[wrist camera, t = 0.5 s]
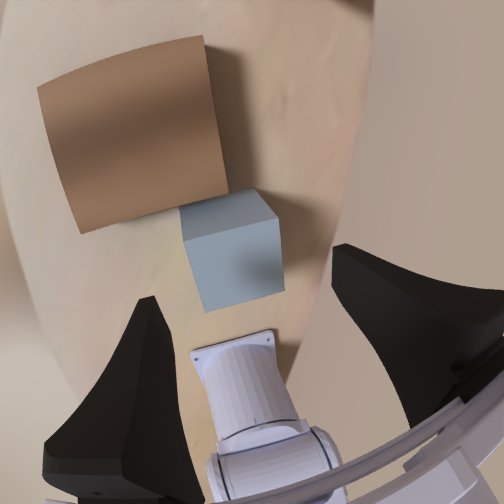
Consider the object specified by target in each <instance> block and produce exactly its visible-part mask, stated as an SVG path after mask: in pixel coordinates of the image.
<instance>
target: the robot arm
mask: <svg viewBox="0 0 504 504" xmlns="http://www.w3.org/2000/svg"><path fill="white" fill-rule="evenodd" d="M331 286H332V288H333V290H334V291H335V293H336V295H337V297H338V299H339V301H340V302H341V304H342V306H343V307H344V308H345V310H346V311H347V312H348V314H349V315H350V316H351V318H352V319H353V320H354V322H355V323H356V324H357V325H358V327H359V328H360V330H361V331H362V332H363V333H364V335H365V336H366V338H367V339H368V340H369V342H370V343H371V345H372V346H373V348H374V349H375V351H376V353H377V354H378V356H379V358H380V360H381V361H382V363H383V365H384V367H385V369H386V371H387V373H388V375H389V377H390V379H391V381H392V383H393V385H394V387H395V389H396V392H397V394H398V396H399V399H400V401H401V403H402V406H403V408H404V411H405V414H406V417H407V420H408V423H409V426H410V428H411V429H410V430H408V431H407V432H405V433H403V434H402V435H400V436H398V437H397V438H395V439H393V440H391V441H389V442H388V443H386V444H384V445H382V446H380V447H378V448H376V449H374V450H373V451H371V452H369V453H367V454H364V455H362V456H360V457H358V458H356V459H354V460H352V461H350V462H347V463H346V464H343V462H342V458H341V455H340V453H339V451H338V448H337V446H336V444H335V442H334V441H333V439H332V438H331V436H330V435H329V434H328V433H327V432H326V431H324V430H322V429H320V428H319V427H317V426H313V427H309V425H308V423H307V421H306V419H302V420H300V419H299V417H298V414H297V412H296V410H295V408H294V405H293V403H292V401H291V398H290V396H289V394H288V391H287V389H286V386H285V384H284V382H283V379H282V377H281V375H280V372H279V370H278V365H277V356H276V348H275V339H274V334H273V331H272V330H266V331H263V332H260V333H256V334H253V335H249V336H246V337H242V338H239V339H235V340H232V341H228V342H224V343H221V344H217V345H213V346H209V347H205V348H201V349H197V350H193V351H191V352H190V358H191V360H192V362H193V364H194V366H195V368H196V370H197V372H198V374H199V376H200V378H201V380H202V382H203V384H204V386H205V388H206V390H207V395H208V399H209V404H210V408H211V412H212V417H213V421H214V425H215V429H216V433H217V437H218V441H219V442H216V445H217V449H218V452H217V453H212V454H211V455H210V457H209V459H208V460H207V462H206V468H207V475H208V479H209V484H210V487H211V491H212V494H213V497H214V499H215V502H216V503H212V504H499V503H498V501H497V499H496V497H495V496H494V494H493V492H492V490H491V489H490V487H489V485H488V484H487V482H486V480H485V479H484V477H483V476H482V474H481V472H480V471H479V469H478V467H479V466H480V465H481V464H482V463H483V461H485V460H486V459H487V458H488V456H489V455H490V454H491V453H492V452H493V451H494V450H495V449H496V448H497V447H498V446H499V444H500V443H501V442H502V441H503V440H504V336H503V333H504V290H494V289H480V288H473V287H466V286H460V285H455V284H451V283H447V282H442V281H439V280H435V279H432V278H429V277H426V276H423V275H420V274H417V273H414V272H412V271H409V270H407V269H404V268H401V267H399V266H397V265H394V264H392V263H390V262H387V261H385V260H383V259H381V258H378V257H376V256H374V255H372V254H370V253H368V252H365V251H363V250H361V249H359V248H357V247H354V246H352V245H349V244H346V243H345V244H342V245H338V246H334V247H333V257H332V285H331ZM437 433H438V435H437V437H436V438H434V439H433V440H432V441H430V442H429V443H428V444H427V445H425V446H424V447H422V448H421V449H420V450H419V452H418V453H417V454H415V455H414V456H413V457H412V458H411V459H409V460H408V461H407V462H405V463H404V464H403V468H404V469H405V471H406V473H404V474H403V475H401V476H399V477H397V478H396V479H394V480H392V481H390V482H388V483H387V484H385V485H383V486H381V487H379V488H377V489H375V490H373V491H371V492H369V493H367V494H365V495H363V496H361V497H359V498H357V499H355V500H353V501H350V502H348V503H347V501H348V499H347V490H346V486H345V485H348V484H349V483H352V482H354V481H356V480H358V479H360V478H363V477H365V476H367V475H369V474H371V473H373V472H375V471H377V470H378V469H380V468H382V467H384V466H386V465H388V464H390V463H391V462H393V461H395V460H397V459H398V458H400V457H402V456H403V455H405V454H407V453H408V452H410V451H412V450H413V449H415V448H416V447H418V446H420V445H421V444H423V443H424V442H426V441H427V440H428V439H430V438H432V437H433V436H434V435H436V434H437ZM43 453H44V454H43V471H42V476H43V479H44V480H45V481H46V482H47V483H49V484H50V485H52V486H54V487H56V488H58V489H60V490H62V491H64V492H66V493H69V494H71V495H74V496H76V497H78V504H204V502H205V498H204V495H203V492H202V490H201V487H200V484H199V481H198V479H197V476H196V473H195V470H194V466H193V463H192V460H191V457H190V453H189V450H188V446H187V442H186V438H185V434H184V430H183V426H182V421H181V417H180V411H179V404H178V393H177V380H176V366H175V353H174V347H173V342H172V336H171V331H170V329H169V327H168V325H167V323H166V321H165V319H164V317H163V314H162V312H161V310H160V308H159V305H158V303H157V301H156V299H155V296H150V297H146V298H142V299H139V301H138V303H137V305H136V307H135V309H134V311H133V314H132V316H131V318H130V320H129V322H128V325H127V327H126V329H125V331H124V333H123V335H122V337H121V340H120V342H119V344H118V346H117V348H116V350H115V351H114V353H113V355H112V357H111V359H110V361H109V363H108V365H107V366H106V368H105V370H104V371H103V373H102V375H101V376H100V378H99V379H98V381H97V382H96V384H95V385H94V387H93V388H92V389H91V391H90V392H89V394H88V395H87V396H86V398H85V399H84V400H83V402H82V403H81V404H80V406H79V407H78V408H77V409H76V410H75V412H74V413H73V414H72V415H71V416H70V417H69V419H68V420H67V421H66V422H65V423H64V424H63V425H62V426H61V427H60V428H59V429H58V430H57V431H56V432H55V433H54V434H53V435H52V436H51V437H50V438H49V439H48V440H47V441H46V442H45V443H44V452H43ZM218 453H219V454H218ZM45 504H75V503H71V502H64V501H57V500H50V499H46V500H45Z"/></svg>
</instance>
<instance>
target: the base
mask: <svg viewBox="0 0 504 504" xmlns="http://www.w3.org/2000/svg"><path fill="white" fill-rule="evenodd" d="M37 90H38V96H39V101H40V106H41V110H42V115H43V119H44V124H45V128H46V132H47V136H48V139H49V143H50V147H51V150H52V154H53V157H54V161H55V164H56V167H57V170H58V173H59V177H60V180H61V183H62V186H63V188H64V191H65V194H66V197H67V200H68V202H69V205H70V208H71V211H72V213H73V216H74V218H75V221H76V223H77V226H78V228H79V231H80V233H81V234H84V233H87V232H90V231H93V230H96V229H100V228H103V227H106V226H109V225H113V224H116V223H119V222H123V221H126V220H129V219H133V218H136V217H140V216H143V215H147V214H151V213H154V212H158V211H162V210H165V209H169V208H173V207H177V206H180V205H184V204H188V203H192V202H196V201H200V200H204V199H208V198H212V197H217V196H221V195H225V194H229V190H228V184H227V179H226V173H225V167H224V161H223V155H222V150H221V144H220V138H219V132H218V126H217V120H216V114H215V108H214V102H213V96H212V90H211V84H210V78H209V71H208V65H207V59H206V53H205V46H204V40H203V35H199V36H193V37H188V38H182V39H177V40H172V41H167V42H163V43H159V44H154V45H150V46H146V47H142V48H139V49H135V50H132V51H128V52H125V53H121V54H118V55H115V56H112V57H109V58H106V59H103V60H100V61H97V62H95V63H92V64H89V65H86V66H84V67H81V68H79V69H76V70H74V71H71V72H69V73H67V74H64V75H62V76H60V77H58V78H55V79H53V80H51V81H49V82H47V83H45V84H43V85H41V86H39V87H37Z"/></svg>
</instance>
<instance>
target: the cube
mask: <svg viewBox="0 0 504 504" xmlns="http://www.w3.org/2000/svg"><path fill="white" fill-rule="evenodd" d="M179 209H180V218H181V226H182V234H183V242H184V245H185V249H186V252H187V256H188V259H189V262H190V266H191V269H192V272H193V275H194V279H195V282H196V285H197V288H198V291H199V295H200V298H201V301H202V304H203V307H204V310H205V313H206V312H210V311H214V310H217V309H221V308H225V307H229V306H232V305H236V304H240V303H243V302H247V301H251V300H254V299H258V298H261V297H265V296H268V295H272V294H275V293H278V292H282V291H285V287H284V274H283V262H282V250H281V239H280V228H279V218H278V217H277V215H276V214H275V213H274V212H273V211H272V209H271V208H270V207H269V206H268V205H267V203H266V202H265V201H264V200H263V199H262V198H261V196H260V195H259V194H258V193H257V192H256V190H255V189H254V188H250V189H245V190H241V191H236V192H232V193H229V194H225V195H221V196H217V197H212V198H208V199H204V200H200V201H196V202H192V203H188V204H184V205H180V206H179Z"/></svg>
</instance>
